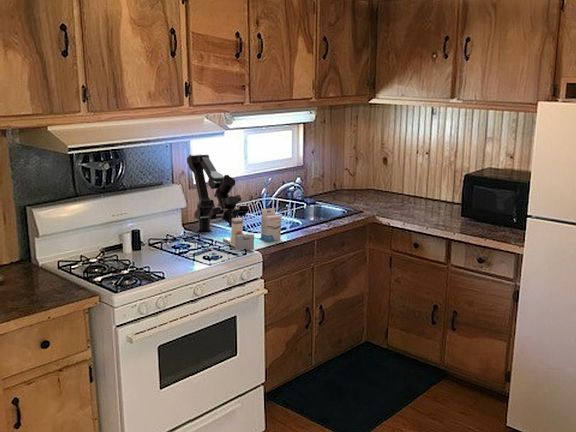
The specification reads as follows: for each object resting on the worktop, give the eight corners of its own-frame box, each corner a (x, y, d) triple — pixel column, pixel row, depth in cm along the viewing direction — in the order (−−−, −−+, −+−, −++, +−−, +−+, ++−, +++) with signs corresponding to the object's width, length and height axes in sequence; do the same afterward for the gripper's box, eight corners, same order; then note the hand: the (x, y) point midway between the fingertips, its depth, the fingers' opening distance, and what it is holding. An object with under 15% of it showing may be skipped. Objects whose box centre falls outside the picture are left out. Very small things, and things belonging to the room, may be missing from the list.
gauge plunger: (236, 236, 281) (236, 231, 281) (240, 235, 283) (241, 230, 282) (244, 240, 275) (244, 234, 275) (249, 239, 276) (249, 234, 276)
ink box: (267, 242, 293) (267, 211, 290) (260, 239, 296) (261, 209, 293) (280, 239, 298) (281, 209, 295) (274, 237, 302) (275, 207, 299)
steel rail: (223, 240, 292) (223, 238, 292) (228, 240, 294) (228, 237, 293) (239, 248, 279) (239, 245, 279) (245, 247, 281) (245, 245, 280)
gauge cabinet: (234, 248, 278) (234, 234, 277) (249, 246, 282) (250, 233, 281) (238, 250, 275) (238, 236, 274) (253, 248, 279) (254, 234, 278)
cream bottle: (230, 244, 284) (230, 218, 282) (239, 243, 287) (240, 217, 284) (235, 247, 280) (236, 220, 278) (245, 246, 283) (245, 219, 280)
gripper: (211, 190, 280) (222, 218, 273) (247, 187, 290) (259, 215, 283) (203, 204, 288) (214, 232, 281) (239, 201, 298) (250, 228, 291)
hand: (235, 226), depth 284 cm, fingers closed, pressing on cream bottle
